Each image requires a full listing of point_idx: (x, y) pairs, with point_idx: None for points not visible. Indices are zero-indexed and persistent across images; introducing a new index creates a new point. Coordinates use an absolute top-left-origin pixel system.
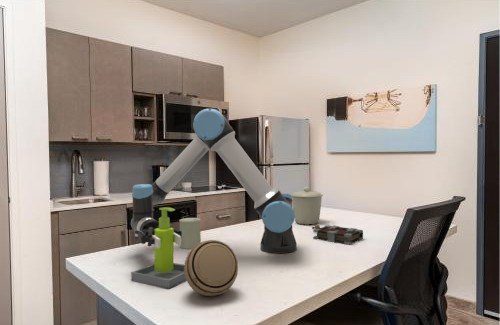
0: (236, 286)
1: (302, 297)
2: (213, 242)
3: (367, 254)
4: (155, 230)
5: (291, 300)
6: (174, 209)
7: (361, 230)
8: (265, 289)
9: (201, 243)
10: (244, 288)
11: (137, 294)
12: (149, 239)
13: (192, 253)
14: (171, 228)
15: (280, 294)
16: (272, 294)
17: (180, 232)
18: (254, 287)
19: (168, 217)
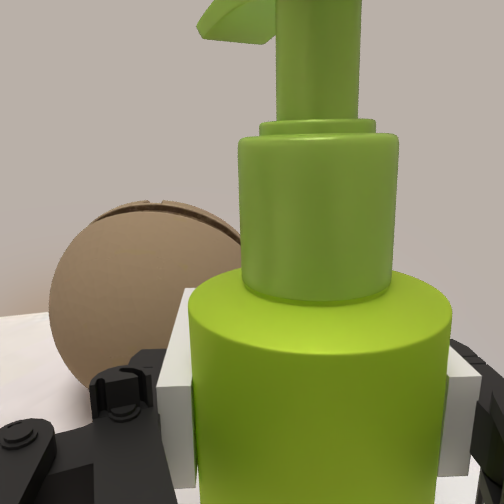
0: (47, 407)
1: (4, 319)
2: (140, 211)
3: None
4: (430, 288)
5: (38, 318)
6: (204, 21)
7: None
8: (8, 364)
9: (194, 207)
10: (45, 388)
11: (469, 498)
12: (490, 376)
13: (239, 234)
14: (228, 274)
15: (19, 338)
16: (33, 343)
17: (33, 428)
18: (14, 382)
19: (248, 137)
